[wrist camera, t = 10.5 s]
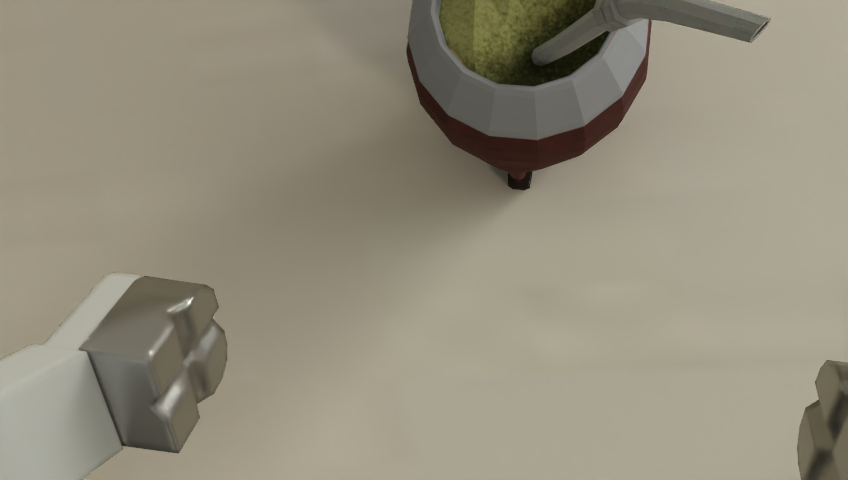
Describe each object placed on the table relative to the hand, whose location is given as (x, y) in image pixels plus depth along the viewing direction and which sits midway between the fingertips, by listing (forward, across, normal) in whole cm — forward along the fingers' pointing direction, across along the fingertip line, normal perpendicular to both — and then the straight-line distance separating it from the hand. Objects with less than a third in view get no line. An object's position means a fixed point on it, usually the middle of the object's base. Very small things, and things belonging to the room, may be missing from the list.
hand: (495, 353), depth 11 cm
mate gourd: (+18, +1, +5) cm, 19 cm away
